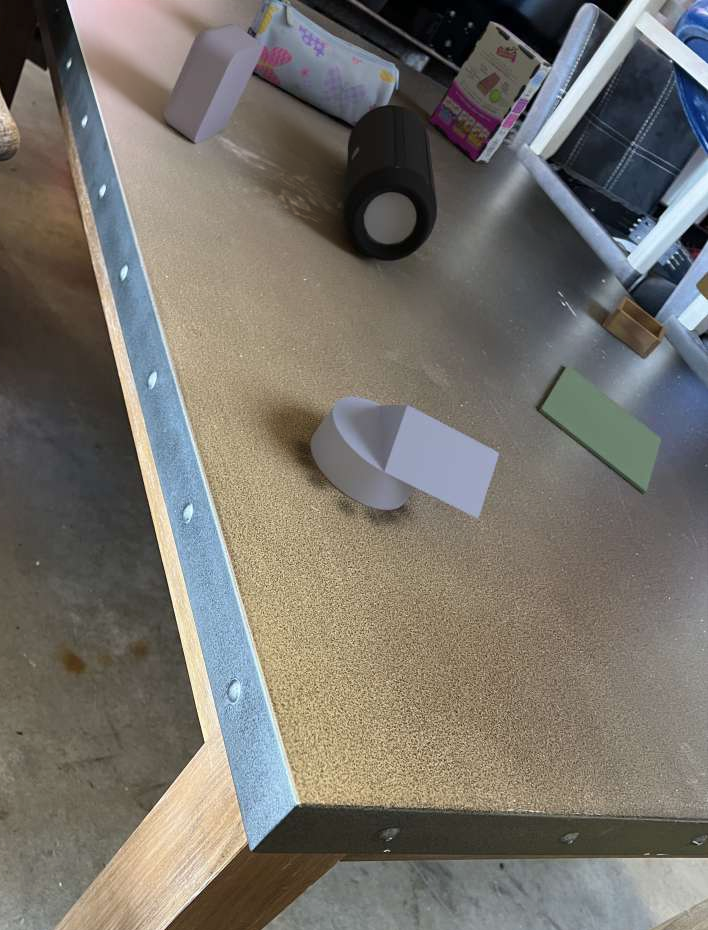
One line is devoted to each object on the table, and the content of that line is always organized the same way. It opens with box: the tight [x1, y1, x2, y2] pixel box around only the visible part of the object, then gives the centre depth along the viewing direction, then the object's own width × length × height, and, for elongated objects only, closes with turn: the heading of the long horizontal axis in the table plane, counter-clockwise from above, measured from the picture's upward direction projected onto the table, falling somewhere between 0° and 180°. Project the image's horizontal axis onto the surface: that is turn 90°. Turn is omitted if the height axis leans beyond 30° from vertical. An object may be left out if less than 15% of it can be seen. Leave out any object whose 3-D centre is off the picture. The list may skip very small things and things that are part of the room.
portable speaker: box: [343, 104, 438, 262], centre depth 110 cm, size 26×10×10 cm, turn 175°
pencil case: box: [246, 0, 400, 127], centre depth 128 cm, size 21×9×10 cm, turn 88°
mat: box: [538, 364, 662, 495], centre depth 107 cm, size 14×16×1 cm
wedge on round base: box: [310, 396, 500, 519], centre depth 75 cm, size 9×7×13 cm
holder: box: [601, 295, 667, 360], centre depth 133 cm, size 7×7×3 cm
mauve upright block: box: [163, 23, 263, 144], centre depth 102 cm, size 10×5×10 cm, turn 159°
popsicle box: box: [428, 20, 554, 164], centre depth 151 cm, size 11×5×16 cm, turn 47°
